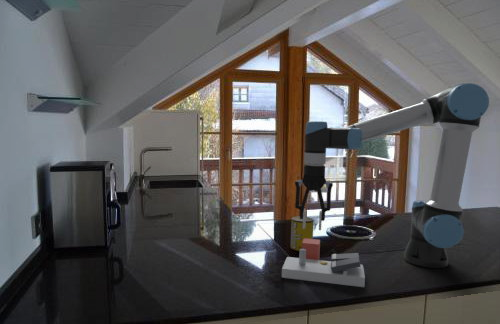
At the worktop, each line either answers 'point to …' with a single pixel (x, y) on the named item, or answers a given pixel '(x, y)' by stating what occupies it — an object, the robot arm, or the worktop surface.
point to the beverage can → (300, 231)
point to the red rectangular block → (311, 248)
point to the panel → (321, 271)
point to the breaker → (345, 264)
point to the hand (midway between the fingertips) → (311, 228)
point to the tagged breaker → (343, 256)
